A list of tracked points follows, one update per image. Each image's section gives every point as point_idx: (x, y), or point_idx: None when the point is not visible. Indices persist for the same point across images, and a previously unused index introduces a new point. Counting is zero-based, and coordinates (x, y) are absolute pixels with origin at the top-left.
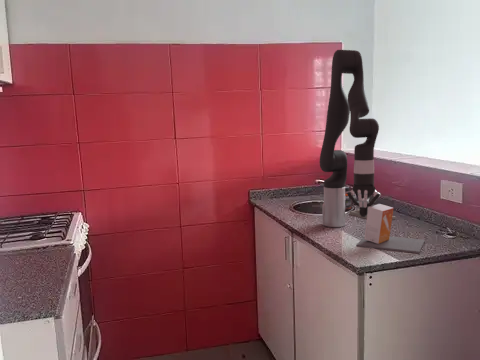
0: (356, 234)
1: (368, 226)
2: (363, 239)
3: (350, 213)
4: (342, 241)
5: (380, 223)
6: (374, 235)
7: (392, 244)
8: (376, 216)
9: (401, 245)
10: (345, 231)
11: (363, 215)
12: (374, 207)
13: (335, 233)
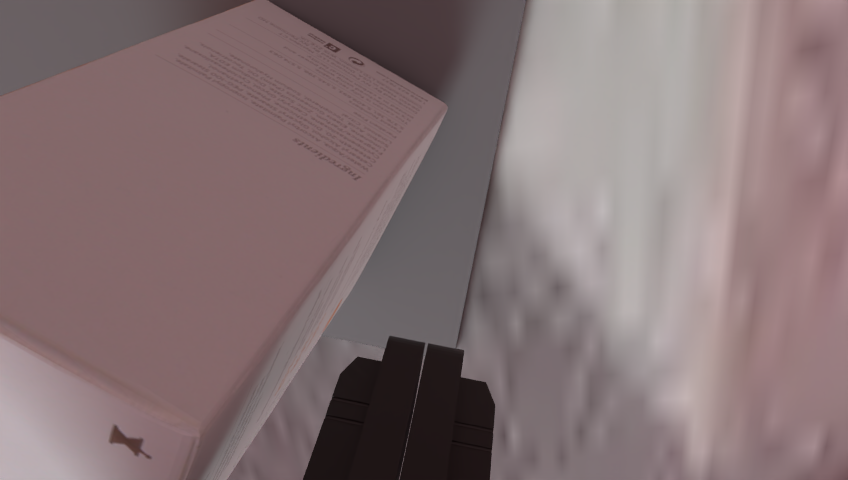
0: (557, 374)
1: (343, 152)
2: (467, 172)
3: None
4: (735, 101)
5: (66, 79)
6: (280, 54)
7: (116, 32)
8: (73, 178)
9: (17, 12)
10: (669, 449)
11: (412, 353)
12: (54, 432)
13: (787, 387)
